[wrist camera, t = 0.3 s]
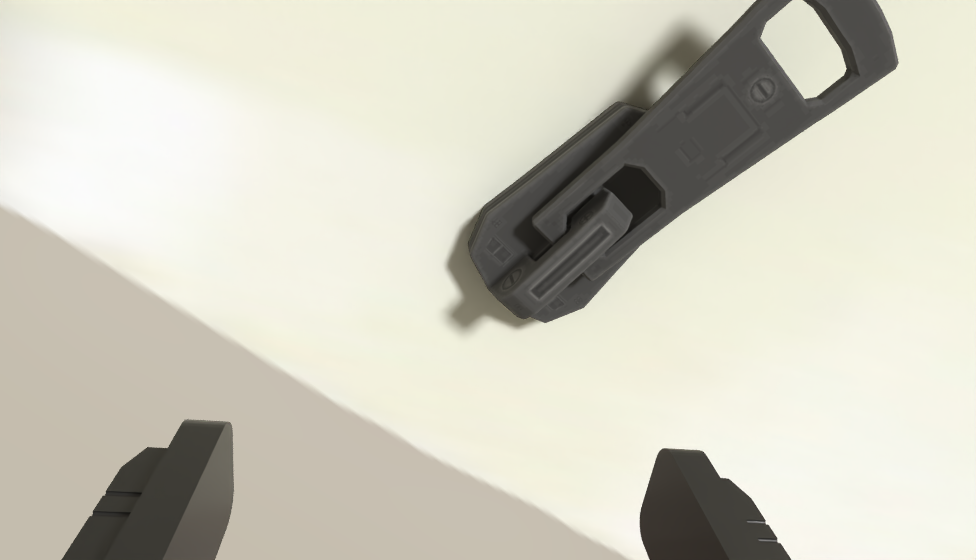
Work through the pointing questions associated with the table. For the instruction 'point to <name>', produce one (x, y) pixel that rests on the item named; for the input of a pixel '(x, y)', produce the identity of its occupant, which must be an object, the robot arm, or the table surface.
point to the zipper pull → (661, 160)
